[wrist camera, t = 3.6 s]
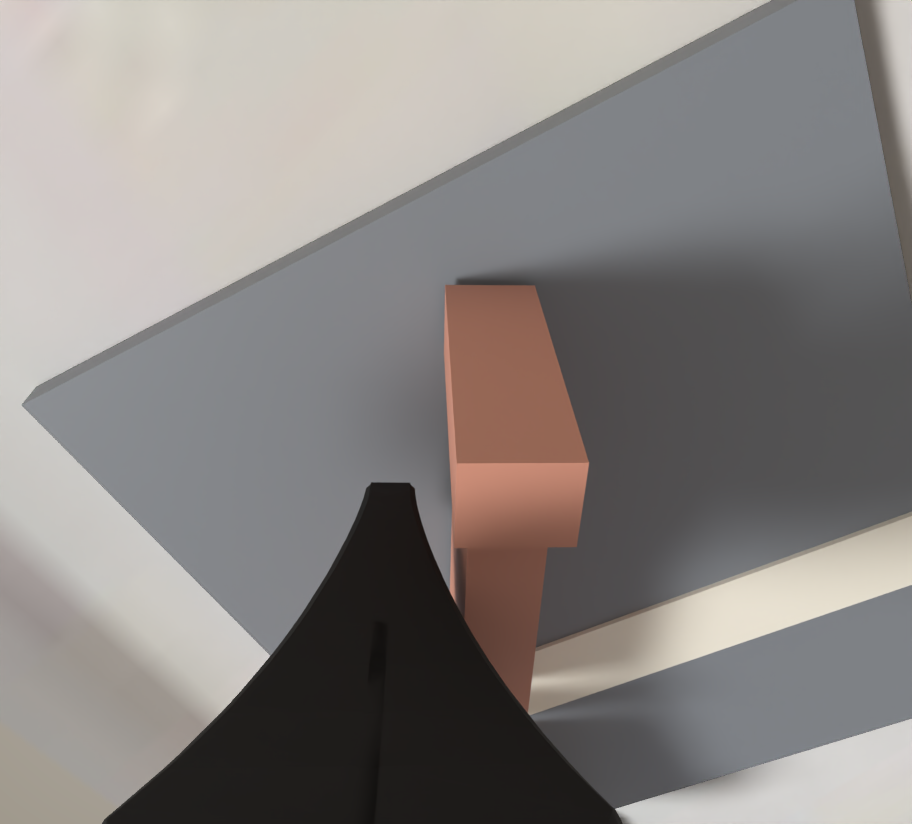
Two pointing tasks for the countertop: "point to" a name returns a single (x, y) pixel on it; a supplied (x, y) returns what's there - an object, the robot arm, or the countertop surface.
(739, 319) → the board
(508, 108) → the countertop surface
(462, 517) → the fence panel
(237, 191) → the countertop surface
